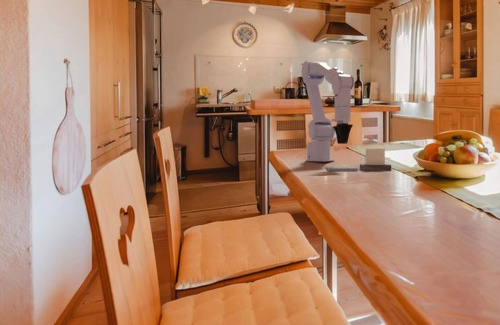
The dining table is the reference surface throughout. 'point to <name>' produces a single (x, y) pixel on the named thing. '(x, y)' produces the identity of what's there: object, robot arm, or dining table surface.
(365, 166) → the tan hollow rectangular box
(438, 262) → the dining table surface
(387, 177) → the dining table surface
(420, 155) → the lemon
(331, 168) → the tile
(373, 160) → the tan rectangular post
